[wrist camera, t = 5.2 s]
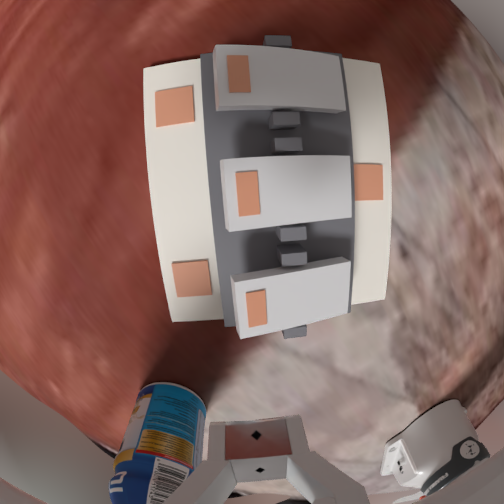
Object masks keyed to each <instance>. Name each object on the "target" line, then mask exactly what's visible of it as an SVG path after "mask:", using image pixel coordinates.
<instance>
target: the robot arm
mask: <svg viewBox="0 0 504 504" xmlns="http://www.w3.org/2000/svg"><path fill="white" fill-rule="evenodd" d="M466 413H467V410H466V409H465V407H462V406H461V404H460V401H459V400H456V399H454V400H449V401H446V402H444V403H441V404H439V405H438V406H436V407H434V408H432V409H431V410H429V411H428V412H426V413H425V414H424V415H422V416H421V417H420V418H418V419H417V420H416V421H415V422H413V423H412V424H411V425H410V426H409V427H408V428H407V429H406V430H405V431H403V432H402V433H401V434H399V435H398V436H396V437H395V438H393V439H392V440H390V441H389V442H388V443H387V444H386V445H385V450H384V456H383V461H382V466H381V470H380V473H381V475H382V476H384V475H391V474H394V476H395V478H396V480H397V482H398V483H399V484H400V485H401V486H407V487H416V488H421V491H422V492H423V493H424V496H422V497H420V500H419V501H417V502H414V503H412V504H504V448H502V449H501V450H500V451H499V452H497V453H496V454H495V455H493V456H492V457H491V458H490V454H489V452H488V450H487V448H485V446H484V445H483V444H482V443H480V442H478V435H477V433H476V431H475V429H474V427H473V425H472V424H471V422H470V420H469V419H468V417H467V415H466ZM284 478H286V479H287V480H288V481H289V482H290V483H291V484H292V485H293V486H294V487H295V488H296V489H297V490H298V491H299V492H300V493H301V494H302V495H303V496H304V497H305V498H306V499H307V500H308V501H309V502H310V503H312V504H370V502H369V500H368V497H367V494H366V491H365V488H364V486H362V485H361V484H359V483H358V482H356V481H355V480H353V479H352V478H350V477H349V476H348V475H346V474H345V473H343V472H342V471H340V470H339V469H338V468H336V467H335V466H333V465H332V464H331V463H329V462H328V461H327V460H325V459H324V458H323V457H321V456H320V455H319V454H317V453H316V452H315V451H311V452H310V450H309V446H308V442H307V438H306V435H305V431H304V427H303V423H302V419H301V416H300V415H293V416H286V417H284V416H283V417H276V418H268V419H259V420H255V421H234V422H211V423H210V426H209V441H208V459H207V461H202V462H201V463H200V465H199V466H198V467H197V468H196V469H195V470H194V471H193V472H192V473H191V474H190V476H189V477H188V478H187V479H186V480H185V481H184V482H183V483H182V484H181V485H180V486H179V487H178V488H177V489H176V490H175V491H174V492H173V493H172V494H171V495H170V496H169V497H168V498H167V499H166V500H165V501H164V502H163V503H162V504H224V502H225V500H226V499H227V498H228V496H229V495H230V493H231V492H232V491H233V489H234V488H235V486H236V485H237V483H238V482H251V481H262V480H274V479H284ZM0 504H47V503H46V502H43V501H42V500H39V499H37V498H35V497H33V496H32V495H29V494H28V493H26V492H24V491H22V490H20V489H19V488H17V487H15V486H13V485H12V484H10V483H8V482H7V481H5V480H4V479H2V478H0Z"/></svg>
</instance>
